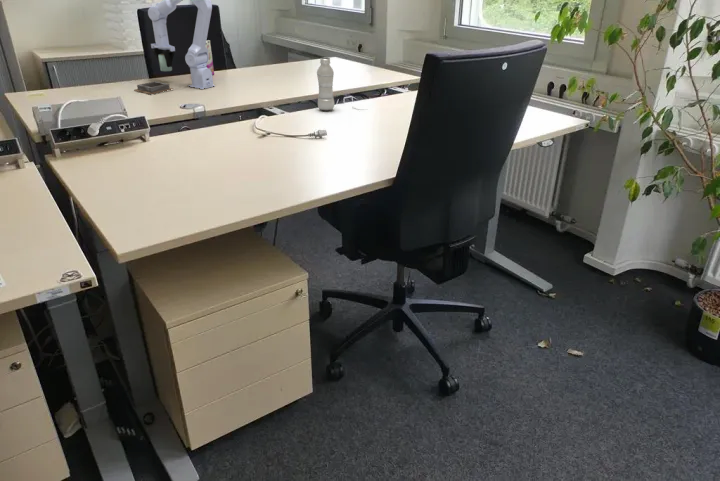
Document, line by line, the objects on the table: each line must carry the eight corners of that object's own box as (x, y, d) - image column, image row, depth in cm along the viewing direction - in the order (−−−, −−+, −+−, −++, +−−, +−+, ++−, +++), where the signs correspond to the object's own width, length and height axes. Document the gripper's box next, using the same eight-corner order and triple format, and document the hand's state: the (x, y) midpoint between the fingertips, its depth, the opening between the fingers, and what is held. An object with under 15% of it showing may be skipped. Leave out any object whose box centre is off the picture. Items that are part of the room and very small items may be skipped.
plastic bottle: (332, 112, 215) (331, 60, 205) (315, 111, 216) (314, 59, 206) (336, 108, 220) (335, 57, 211) (320, 107, 221) (319, 56, 212)
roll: (174, 70, 255) (172, 54, 251) (165, 71, 251) (162, 55, 247) (167, 68, 257) (165, 53, 254) (158, 70, 253) (155, 54, 250)
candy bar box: (204, 74, 274) (200, 40, 266) (214, 74, 274) (210, 40, 266) (198, 79, 264) (194, 43, 257) (208, 79, 264) (204, 43, 257)
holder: (173, 90, 244) (172, 84, 243) (151, 95, 235) (150, 89, 234) (156, 86, 250) (155, 80, 249) (134, 91, 241) (133, 85, 240)
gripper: (143, 34, 247) (148, 65, 254) (163, 37, 240) (168, 69, 247) (156, 32, 252) (161, 63, 259) (176, 35, 245) (181, 66, 252)
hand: (165, 65), depth 253 cm, fingers closed on roll, 5 cm apart
